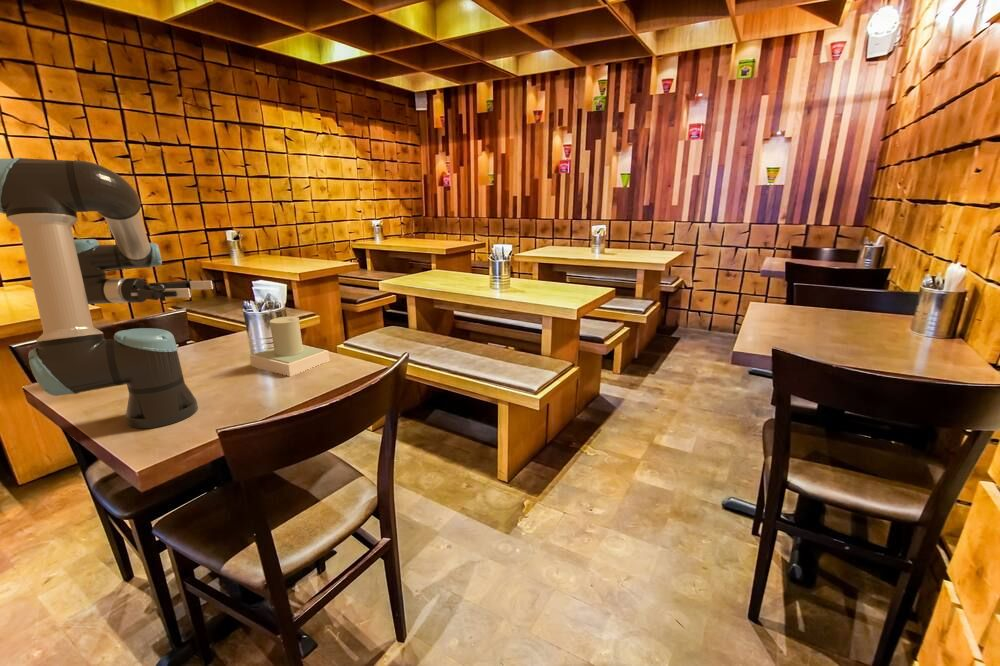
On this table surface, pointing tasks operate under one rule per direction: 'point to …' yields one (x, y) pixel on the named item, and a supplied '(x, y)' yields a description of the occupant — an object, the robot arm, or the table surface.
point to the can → (286, 336)
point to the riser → (289, 360)
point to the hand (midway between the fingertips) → (201, 288)
